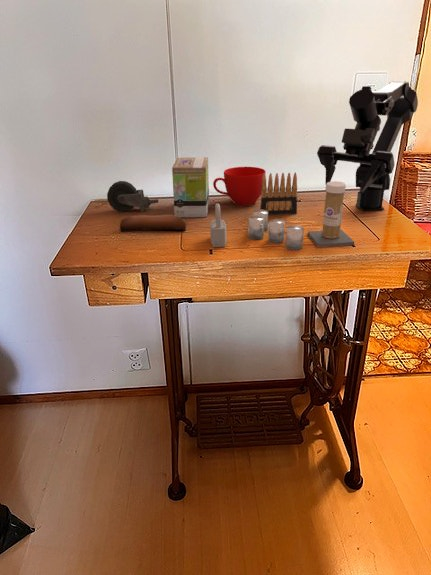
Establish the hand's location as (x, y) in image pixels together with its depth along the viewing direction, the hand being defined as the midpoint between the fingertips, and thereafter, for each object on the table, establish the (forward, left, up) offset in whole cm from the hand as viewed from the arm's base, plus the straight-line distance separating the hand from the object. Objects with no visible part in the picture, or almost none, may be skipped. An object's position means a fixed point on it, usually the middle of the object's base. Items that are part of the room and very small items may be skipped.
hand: (343, 188), depth 112 cm
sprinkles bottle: (+4, +5, -11) cm, 13 cm away
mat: (+4, +5, -12) cm, 13 cm away
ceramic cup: (+22, -30, -12) cm, 39 cm away
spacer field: (+18, +2, -12) cm, 22 cm away
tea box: (+37, -26, -12) cm, 47 cm away
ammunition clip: (+12, -18, -12) cm, 25 cm away
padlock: (+32, +2, -12) cm, 34 cm away
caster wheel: (+55, -29, -12) cm, 63 cm away
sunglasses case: (+48, -12, -12) cm, 52 cm away
